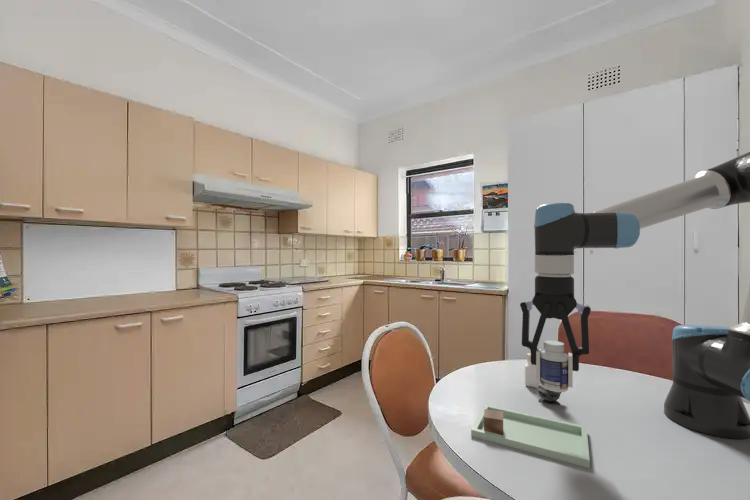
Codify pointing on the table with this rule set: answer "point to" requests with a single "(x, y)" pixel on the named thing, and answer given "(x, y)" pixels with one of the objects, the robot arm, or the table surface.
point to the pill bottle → (554, 367)
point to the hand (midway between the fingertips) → (554, 382)
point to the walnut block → (493, 421)
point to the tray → (538, 436)
